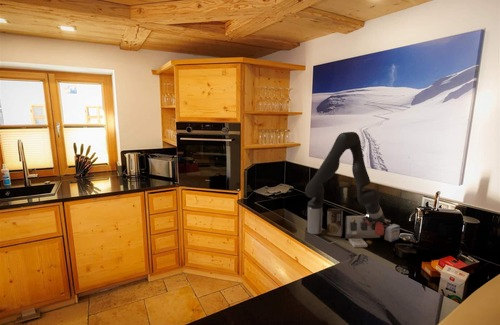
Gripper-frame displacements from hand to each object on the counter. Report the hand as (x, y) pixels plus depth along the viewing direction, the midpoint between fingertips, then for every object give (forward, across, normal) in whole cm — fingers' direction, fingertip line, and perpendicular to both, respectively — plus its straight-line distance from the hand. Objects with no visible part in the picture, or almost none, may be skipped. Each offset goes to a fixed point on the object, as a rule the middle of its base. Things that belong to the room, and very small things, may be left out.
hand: (380, 226), depth 157 cm
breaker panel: (+6, +9, +8) cm, 14 cm away
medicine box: (+13, -4, +1) cm, 14 cm away
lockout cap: (+2, 0, +4) cm, 5 cm away
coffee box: (+3, +25, +13) cm, 28 cm away
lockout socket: (-1, +8, +15) cm, 18 cm away
